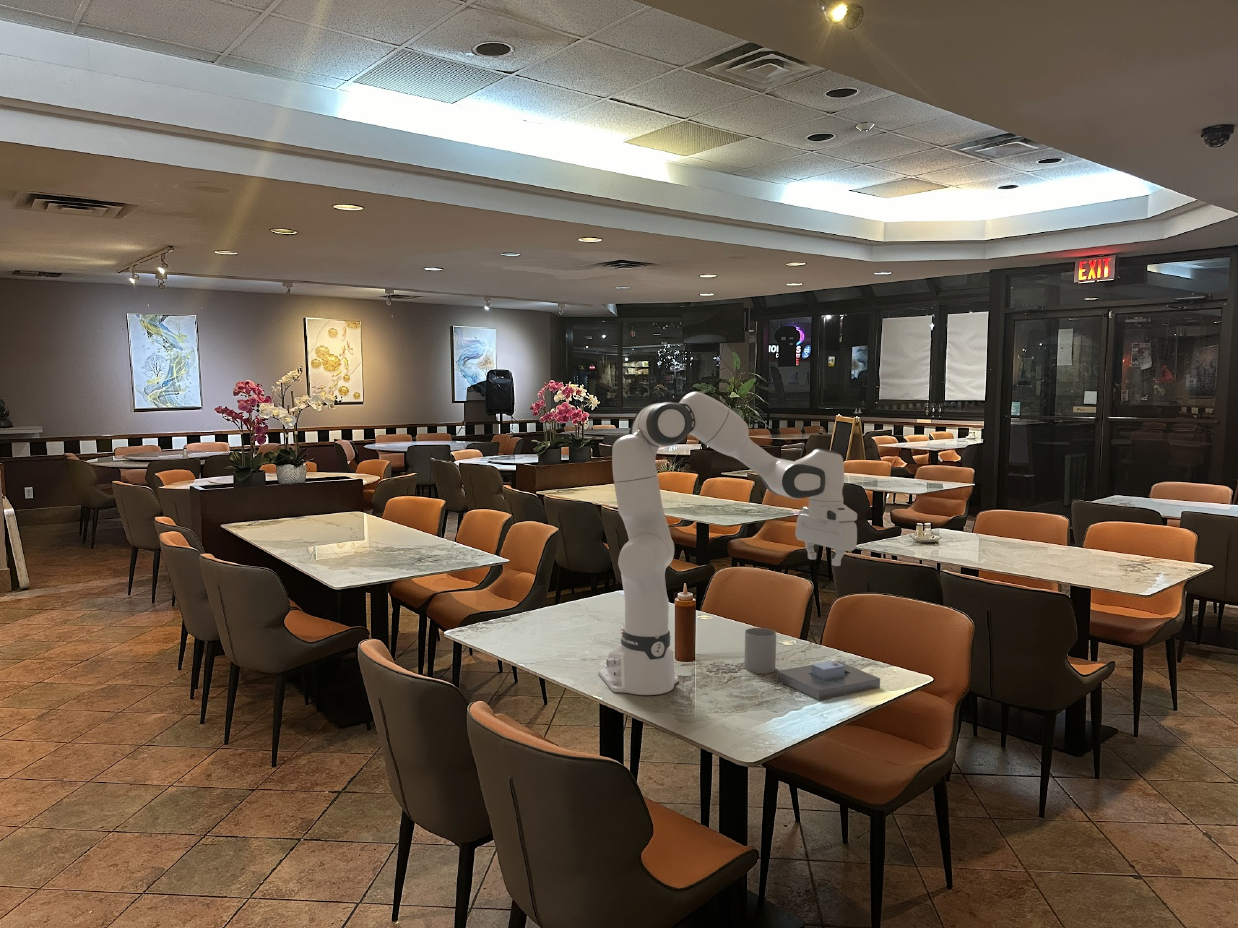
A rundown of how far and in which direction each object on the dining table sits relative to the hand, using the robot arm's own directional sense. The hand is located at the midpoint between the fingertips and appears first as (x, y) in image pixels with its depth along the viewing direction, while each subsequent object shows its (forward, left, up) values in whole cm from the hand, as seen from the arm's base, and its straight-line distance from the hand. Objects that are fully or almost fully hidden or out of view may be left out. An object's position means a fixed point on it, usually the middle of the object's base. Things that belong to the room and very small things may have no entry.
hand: (823, 562), depth 215 cm
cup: (-10, -13, -30) cm, 34 cm away
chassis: (+8, -5, -30) cm, 31 cm away
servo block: (+8, -5, -30) cm, 31 cm away
